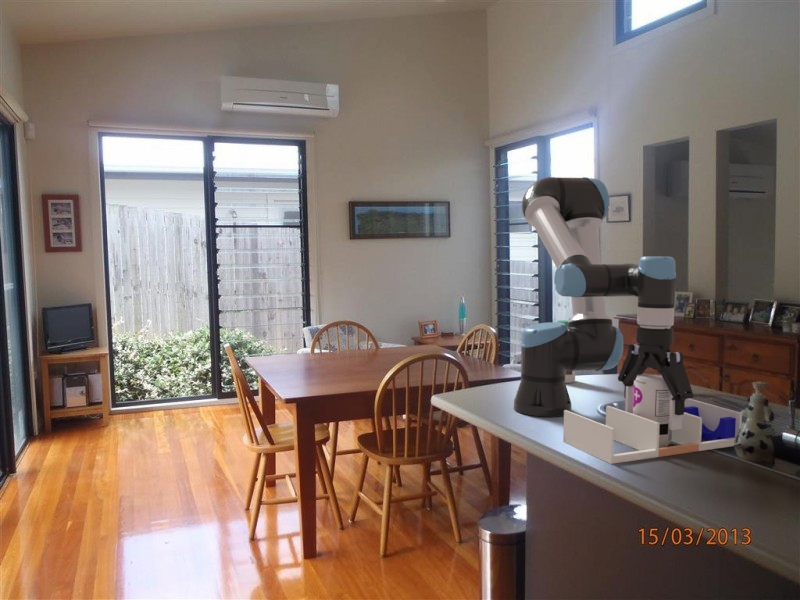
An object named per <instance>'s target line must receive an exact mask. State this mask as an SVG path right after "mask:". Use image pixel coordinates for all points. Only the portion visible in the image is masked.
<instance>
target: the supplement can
mask: <svg viewBox="0 0 800 600" xmlns="http://www.w3.org/2000/svg"><path fill="white" fill-rule="evenodd" d="M633 386H634V390H633V414H634V415H637V416H640V417H643V418H646V419H649V420H652V421H655V422H658V423H660V426H659V448H663V447H669V446H670V444H672V442H673V441H672V430H670V429H669V417H670V399H672V398H673V396H672V394H671V392H670V390H669V388H668V387H667V385H666V383H665V381H664V379H663V377H662V375H661V374H654V373H643V374H641V375H637V378H636V379H635V381H634V385H633Z"/></svg>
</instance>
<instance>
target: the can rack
mask: <svg viewBox="0 0 800 600" xmlns="http://www.w3.org/2000/svg"><path fill="white" fill-rule="evenodd" d="M690 406H694V407H698V413H699V417H698V416H694V415H691V414H688V413H684V414H683V415H682V429H677V430H672V442H673V443H676V444H677V445H673V446H671V445H669V446H667V447H663V448H659V426H660V423H658V422H655V421H652V420H649V419H646V418H643V417H640V416H637V415H634V414H631V413H629V412H626V411H625V410H622V409H619V408H616V407H613V406H612V405H606V406H605V407H606V409H605V424H603V423H601V422H599V421H595V420H593V419H590V418H588V417H585V416H582V415H580V414H577V413H575V412H572V411H571V412H570V411H567V410H564V415H563V441H562V442H563V443H566V444H567V445H570V446H572V447H574V448H575V449H578V450H580V451H582V452H583V453H584V452H585V453H587V454H589V455H591V456H593V457H595V458H596V459H599V460H602V461H603V462H606V463H609V464H610V465H612V464H620V463H626V462H627V463H628V462H633V461H634V462H635V461H641V460H648V459H654V458H661V457H662V458H663V457H668V456H674V455H680V454H681V455H682V454H688V453H694V452H696V453H697V452H701V451H708V450H714V449H723V448H729V447H735V446H734V440H735V437H736V436H737V434H738V432H739V429H740V427H741V425H742V421H743V412H740V411H736V410H732V409H729V408H726V407H721V406H719V405H714V404H711V403H708V402H703V401H701V400H697V399H693V398H688V399H685V405H684V407H690ZM725 417H732V418H736V424H735V437H734V438H727V439H720V440H713V441H710V440H707V441H702V438H701V434H702V423H703V424H704V425H705V427H707V428H708V429H709V430H711V431H715V430H716V428H717V427H718V425H719V422H720V418H725ZM741 428H742V427H741ZM615 441H616V442H617V443H620V444H623V445H625V446H628V447H630V448H633V449H635V451H628V452H621V453H614V452H615V450H614V447H615Z"/></svg>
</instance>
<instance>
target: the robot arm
mask: <svg viewBox="0 0 800 600" xmlns="http://www.w3.org/2000/svg"><path fill="white" fill-rule="evenodd" d="M610 202H611V201H610V195H609V191H608V188H607V186H606V184H604V182H602V180H600V179H598V178H592V177H591V178H590V177H585V176H583V177H554V176H551V177H549V176H548V177H543V178H541V179H539V180H536V181H534V183H532V184H531V185H530V186H529V187H528V188H527V190H526V191H525V193H524V195H523V197H522V202H521V211H522V214H523V217H524V219H525V221H526V222H527V224H528V225H530V226H532V228H534V229H535V231H536V233H537V235H538V236H539V238H540V241H542V243H543V244H542V245H543V246H544V247H545V249H546V251H547V253H548V255H549V256H550V259H551V260H552V261H553V265H554V266H555V268H556V270H555V272H554V277H553V278H554V281H553V282H554V283H553V284H554V285H555V290H556V293H557V294H558V295H560V296H561V297H567V298H568V297H569V298H570V297H571V305H572V306H571V307H572V317H571V318H570V319H569V320H567V321H568V328H567V326H566V324H565V323H562V322H557V321H553V322H550V321H549V322H542V323H541V322H539V323H534V324H531V325H528V326H526V327H524V329H523V330H522V332H521V342H520V348H521V349H520V351H521V353H520V356H521V359H520V362H521V363H520V382H519V384H518V385H519V386H518V389H517V390H516V394H515V397H514V400H513V410H514V411H516V412H517V413H519V414H523V415H528V416H533V417H543V418H544V417H549V418H551V417H552V418H553V417H564V410H567V411H570V412H572V402H571V398H570V395H569V391H568V387H567V383H565V372H566V371H575V372H579V371H580V372H581V371H597V372H599V371H604V370H605V371H606V370H611V369H613V368H615V367H616V366H617V365H618V364H619V362H620V359H621V357H622V356H623V351H624V337H623V333H622V331H621V329H620V328H619V327H616V326H614V325H613V318H611V317H610V316H609V315H608V314H607V313H606V305H605V297H606V298H607V297H610V298H611V297H612V298H613V297H634V298H637V316H636V324H637V325H638V326H637V327H636V342H637V343H632V344H628V347H627V355H626V357H625V360H624V361H623V365H622V367H621V369H620V372H619V374H618V376H617V380H618V382H621V383H622V384H623V386H624V392H623V394H624V395H623V397H624V399H625V403H624V404H625V405H624V411H626V412H629V413H631V414H633V390H634V381H635V379H636V378H637V375H641V374H644V373H645V371H646V370H647V369H649V368H650V369H653V370H656V371H657V372H658V373H659V374H660V375H662V377H663V379H664V381H665V383H666V385H667V387H668V388H669V390H670V392H671V394H672V396H673V398H672V399H670V417H669V429H670V430H677V429H682V415H683V414H684V405H685V399H688V398H690V399H693V398H694V393H693V390H692V386H691V384H690V381H689V377H688V374H687V371H686V368H685V365H684V360H683V359H684V358H683V356H684V355H683V352H681V351H676V352H675V351H673V352H672V351H671V346H672V345H673V344H674V331H675V330H674V329H673V327H672V326H674V325H675V324H674V323H675V321H674V320H675V304H676V303H675V302H676V301H675V300H676V284H677V282H676V281H677V273H676V260H675V258H674V257H672V256H656V255H655V256H651V255H650V256H649V255H648V256H641V257H640V258H639V261H638V264H635V263H622V264H615V263H614V264H613V263H612V264H611V263H610V264H605V263H603V264H602V260H601V250H600V240H599V228H600V227H601V226H602V225H603V223H604V222H603V219H605V218H607V216H608V214H609V211H610V209H609V207H610Z"/></svg>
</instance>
